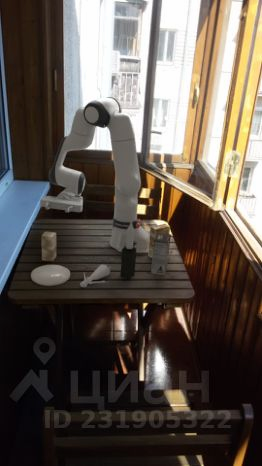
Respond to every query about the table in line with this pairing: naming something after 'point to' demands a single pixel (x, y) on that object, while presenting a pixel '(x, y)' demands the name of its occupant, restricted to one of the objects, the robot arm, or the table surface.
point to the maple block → (49, 246)
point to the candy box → (153, 231)
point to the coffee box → (160, 253)
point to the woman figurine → (96, 275)
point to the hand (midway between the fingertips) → (56, 209)
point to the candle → (128, 255)
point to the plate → (50, 275)
